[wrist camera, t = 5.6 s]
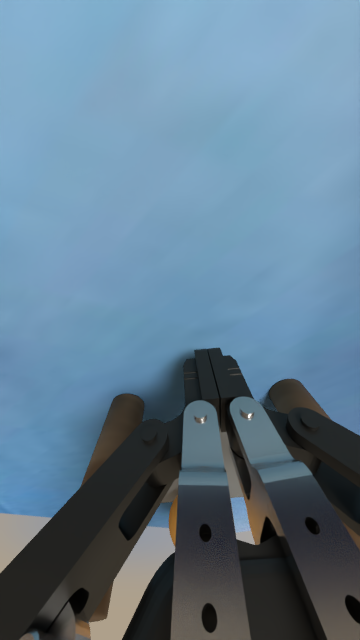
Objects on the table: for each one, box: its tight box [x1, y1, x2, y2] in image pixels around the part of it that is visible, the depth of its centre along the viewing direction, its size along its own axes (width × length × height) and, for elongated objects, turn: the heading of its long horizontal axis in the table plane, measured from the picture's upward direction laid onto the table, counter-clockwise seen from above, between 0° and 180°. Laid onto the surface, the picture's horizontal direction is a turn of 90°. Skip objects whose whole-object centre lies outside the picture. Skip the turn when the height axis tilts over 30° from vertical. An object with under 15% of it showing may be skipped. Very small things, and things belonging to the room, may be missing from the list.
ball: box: [169, 495, 178, 545], centre depth 19 cm, size 5×5×5 cm
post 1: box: [80, 394, 145, 622], centre depth 11 cm, size 3×3×9 cm
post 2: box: [269, 379, 360, 550], centre depth 10 cm, size 3×3×9 cm
